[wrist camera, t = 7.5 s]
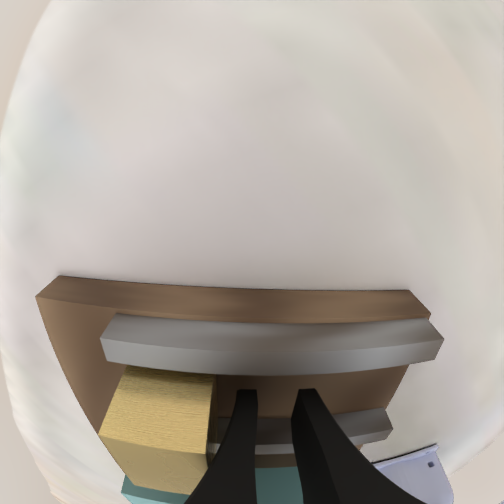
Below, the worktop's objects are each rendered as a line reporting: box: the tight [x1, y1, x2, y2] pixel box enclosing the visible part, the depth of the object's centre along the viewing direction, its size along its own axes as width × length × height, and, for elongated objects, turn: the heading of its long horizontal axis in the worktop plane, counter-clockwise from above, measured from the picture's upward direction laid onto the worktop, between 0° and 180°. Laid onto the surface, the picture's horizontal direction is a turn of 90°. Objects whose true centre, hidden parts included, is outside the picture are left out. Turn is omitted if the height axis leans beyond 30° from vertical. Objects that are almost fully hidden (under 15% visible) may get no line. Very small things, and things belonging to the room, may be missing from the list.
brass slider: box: [98, 364, 218, 495], centre depth 8 cm, size 3×4×4 cm
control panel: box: [35, 276, 444, 472], centre depth 13 cm, size 16×22×4 cm
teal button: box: [121, 466, 303, 504], centre depth 11 cm, size 10×5×2 cm, turn 87°
